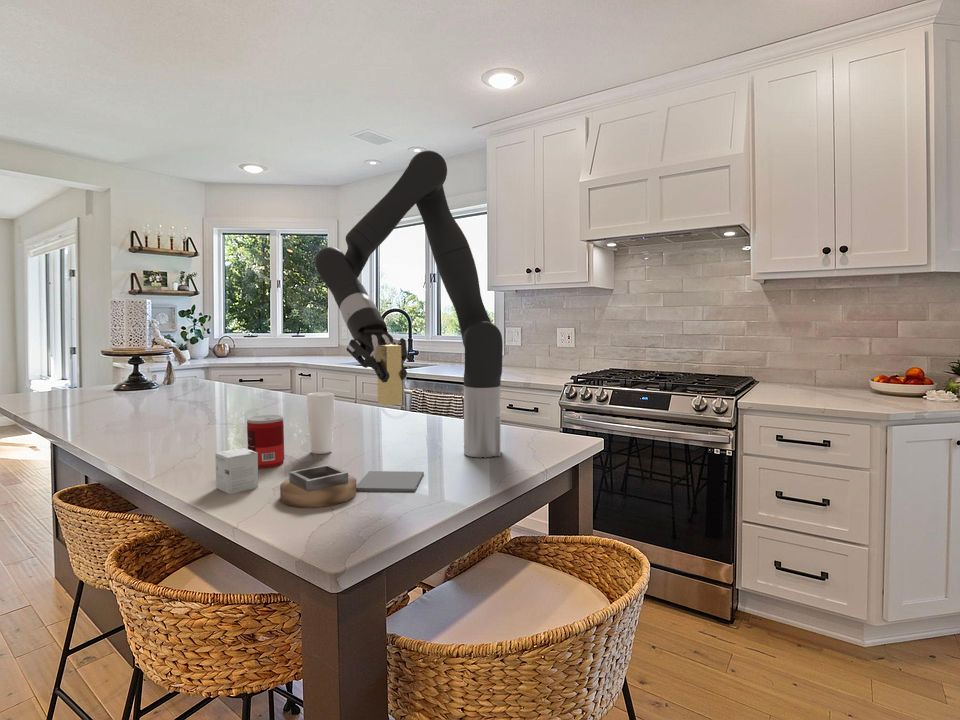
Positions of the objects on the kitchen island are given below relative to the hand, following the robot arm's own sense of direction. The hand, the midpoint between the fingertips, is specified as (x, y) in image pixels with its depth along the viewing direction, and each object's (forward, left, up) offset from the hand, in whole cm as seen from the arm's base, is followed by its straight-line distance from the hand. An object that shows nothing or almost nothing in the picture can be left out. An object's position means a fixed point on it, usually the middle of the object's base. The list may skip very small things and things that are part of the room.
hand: (395, 378), depth 110 cm
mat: (+1, -1, -22) cm, 22 cm away
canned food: (+33, -14, -22) cm, 43 cm away
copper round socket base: (+13, +8, -22) cm, 27 cm away
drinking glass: (+24, -26, -22) cm, 42 cm away
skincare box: (+31, +4, -22) cm, 39 cm away
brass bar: (+1, -1, -5) cm, 6 cm away
